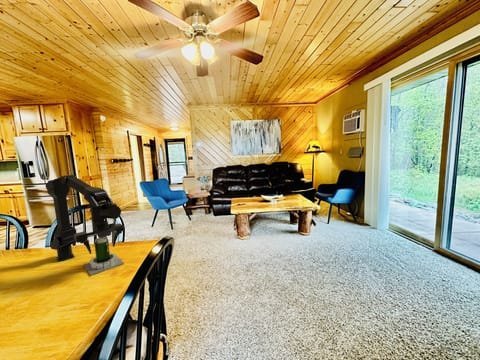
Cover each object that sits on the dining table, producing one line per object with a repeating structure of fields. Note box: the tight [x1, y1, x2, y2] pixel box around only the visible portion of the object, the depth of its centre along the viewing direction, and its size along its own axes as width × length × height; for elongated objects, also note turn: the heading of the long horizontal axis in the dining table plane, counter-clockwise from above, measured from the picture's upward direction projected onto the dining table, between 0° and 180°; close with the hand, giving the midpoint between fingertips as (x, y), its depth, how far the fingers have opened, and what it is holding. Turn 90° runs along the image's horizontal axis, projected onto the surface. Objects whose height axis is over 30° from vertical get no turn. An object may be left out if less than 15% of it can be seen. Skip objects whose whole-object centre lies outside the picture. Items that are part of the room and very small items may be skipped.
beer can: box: [94, 236, 111, 263], centre depth 96 cm, size 5×5×12 cm
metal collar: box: [88, 252, 118, 270], centre depth 97 cm, size 10×10×2 cm
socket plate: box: [83, 256, 125, 277], centre depth 97 cm, size 13×13×1 cm
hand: (102, 250), depth 96 cm, fingers open, 9 cm apart
